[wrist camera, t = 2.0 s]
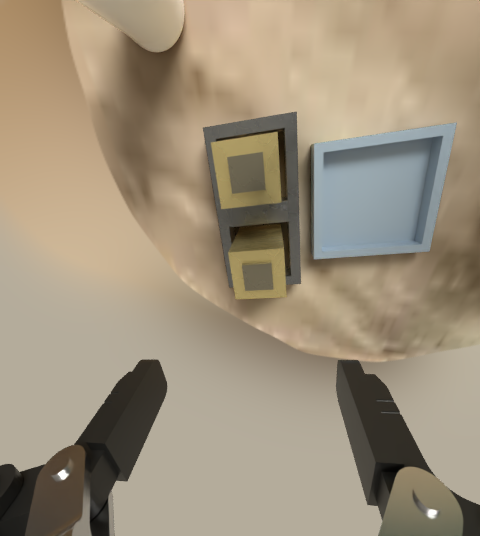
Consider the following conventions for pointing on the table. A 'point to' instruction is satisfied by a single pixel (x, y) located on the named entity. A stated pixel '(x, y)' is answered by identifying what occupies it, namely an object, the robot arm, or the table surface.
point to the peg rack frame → (266, 212)
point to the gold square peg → (258, 262)
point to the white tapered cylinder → (143, 20)
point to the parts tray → (378, 192)
